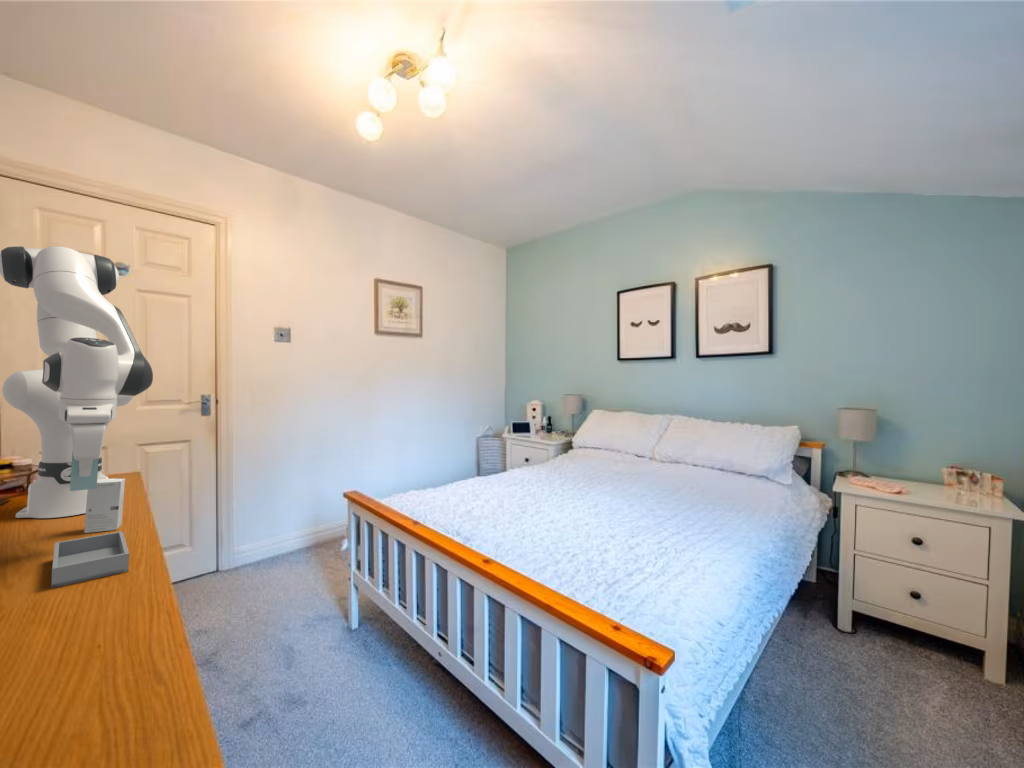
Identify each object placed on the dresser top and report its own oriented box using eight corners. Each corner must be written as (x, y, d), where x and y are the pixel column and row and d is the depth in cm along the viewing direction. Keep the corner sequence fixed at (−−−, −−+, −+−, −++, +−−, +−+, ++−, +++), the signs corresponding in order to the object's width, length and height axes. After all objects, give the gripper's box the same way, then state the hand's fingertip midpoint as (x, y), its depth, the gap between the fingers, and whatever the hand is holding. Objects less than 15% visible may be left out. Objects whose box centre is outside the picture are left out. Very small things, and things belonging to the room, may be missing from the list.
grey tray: (54, 559, 83) (55, 542, 83) (121, 546, 90) (122, 531, 90) (51, 588, 72) (52, 568, 72) (128, 571, 79) (129, 553, 79)
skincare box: (83, 534, 96) (85, 483, 97) (89, 528, 100) (91, 479, 100) (118, 529, 100) (120, 480, 100) (123, 524, 104) (125, 477, 104)
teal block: (70, 487, 89) (72, 451, 89) (96, 484, 92) (98, 449, 92) (69, 491, 87) (72, 454, 87) (96, 488, 90) (98, 452, 90)
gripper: (67, 406, 94) (64, 466, 94) (66, 416, 80) (62, 485, 80) (106, 407, 99) (102, 463, 99) (111, 415, 85) (107, 481, 85)
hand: (84, 473), depth 89 cm, fingers closed on teal block, 4 cm apart
